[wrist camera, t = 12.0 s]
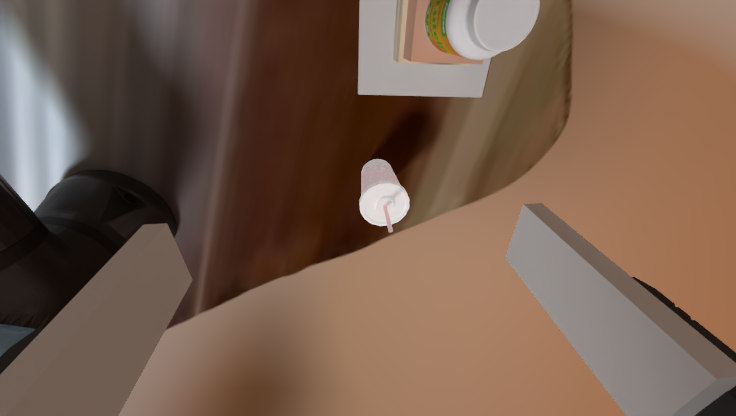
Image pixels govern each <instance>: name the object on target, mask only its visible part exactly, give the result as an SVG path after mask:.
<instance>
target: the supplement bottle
mask: <svg viewBox="0 0 736 416" xmlns="http://www.w3.org/2000/svg"><path fill="white" fill-rule="evenodd" d="M539 7H540V0H430V1H429V3H428V6H427V9H426V13H425V20H424V24H425V31H426V35H427V38H428V40H429V41H430V43H431V44H432V45H433V46H434V47H435V48H436V49H437V50H439V51H441V52H444V53H447V54H452V55H456V56H460V57H464V58H467V59H473V60H483V59H488V58H491V57H493V56H495V55H497V54H499V53H500V52H502V51H506V50H509V49H511V48H513V47H515V46H516V45H518V44H519V43H520V42H521V41H523V40H524V39H525V38H526V36H527V35H528V34H529V33H530V31H531V30H532V28H533V26H534V24H535V22H536V19H537V16H538V12H539Z"/></svg>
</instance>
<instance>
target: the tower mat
mask: <svg viewBox="0 0 736 416" xmlns="http://www.w3.org/2000/svg"><path fill="white" fill-rule="evenodd" d="M396 6H397V0H360V9H359V66H358V94H361V95H402V96H443V97H482V94H483V90H484V86H485V82H486V77H487V73H488V69H489V65H490V60H491V58H488V59H484V60H483V64H471V66H469V65H440V64H412V63H397V62H396V61H394V60H392V59H393V46H394V32H395V19H396Z"/></svg>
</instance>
